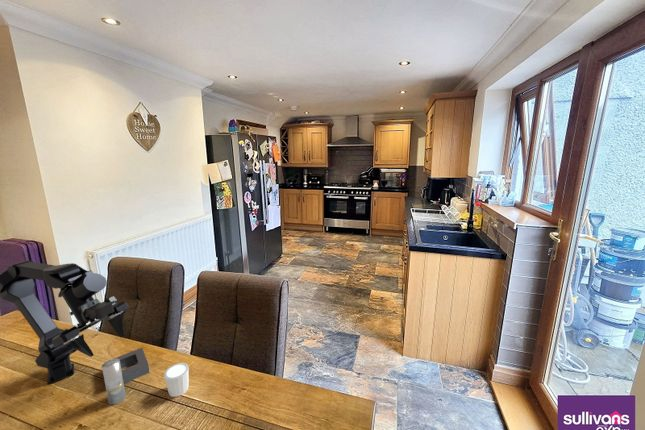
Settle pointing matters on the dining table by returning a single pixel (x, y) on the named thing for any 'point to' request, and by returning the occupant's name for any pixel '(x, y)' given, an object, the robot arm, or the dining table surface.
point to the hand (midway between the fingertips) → (108, 346)
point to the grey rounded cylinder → (114, 381)
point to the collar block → (134, 370)
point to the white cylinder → (177, 379)
